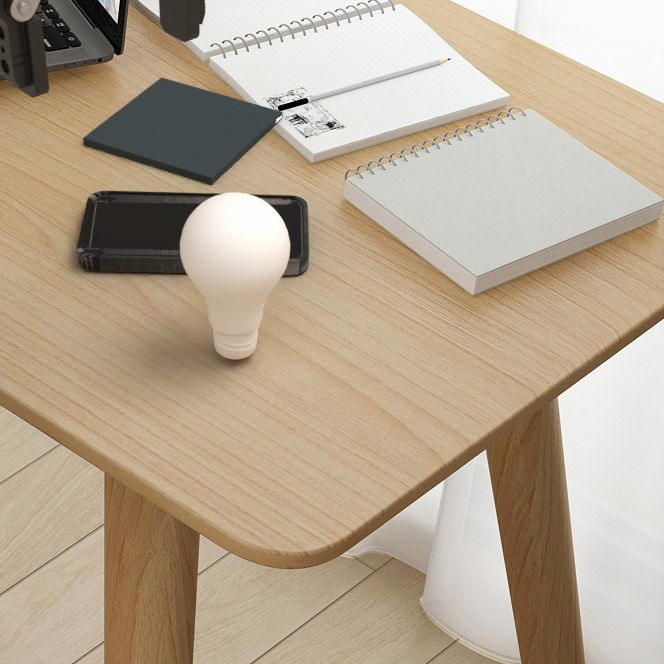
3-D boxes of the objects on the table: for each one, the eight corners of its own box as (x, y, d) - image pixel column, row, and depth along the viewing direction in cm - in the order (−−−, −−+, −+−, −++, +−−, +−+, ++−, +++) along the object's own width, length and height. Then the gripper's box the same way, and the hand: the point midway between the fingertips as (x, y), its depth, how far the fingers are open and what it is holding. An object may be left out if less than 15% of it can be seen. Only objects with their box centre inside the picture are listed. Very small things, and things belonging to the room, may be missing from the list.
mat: (83, 144, 89) (82, 137, 89) (161, 83, 97) (161, 77, 97) (212, 185, 86) (211, 177, 86) (282, 118, 94) (282, 111, 93)
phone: (89, 190, 82) (307, 195, 83) (90, 203, 83) (306, 208, 84) (74, 257, 76) (309, 262, 77) (75, 272, 77) (308, 276, 78)
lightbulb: (284, 322, 74) (289, 171, 67) (288, 389, 70) (293, 234, 63) (185, 322, 74) (180, 170, 67) (182, 389, 69) (176, 233, 62)
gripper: (164, -365, 51) (177, -6, 62) (-148, -328, 43) (-73, 77, 54) (283, -331, 47) (275, 46, 58) (-36, -284, 39) (21, 144, 50)
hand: (107, 61), depth 56 cm, fingers open, 8 cm apart
